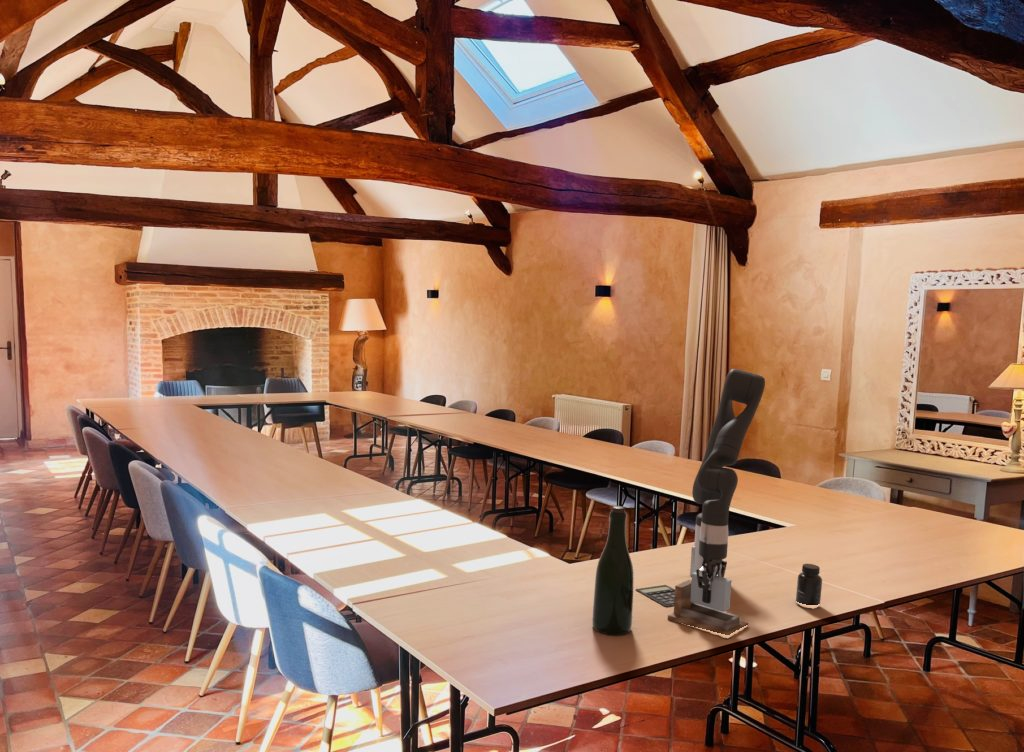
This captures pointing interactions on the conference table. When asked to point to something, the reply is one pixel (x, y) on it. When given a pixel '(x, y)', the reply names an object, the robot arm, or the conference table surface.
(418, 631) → the conference table surface
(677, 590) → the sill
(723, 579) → the gray rectangular block
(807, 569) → the supplement bottle
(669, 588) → the calculator
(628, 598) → the dark green wine bottle
